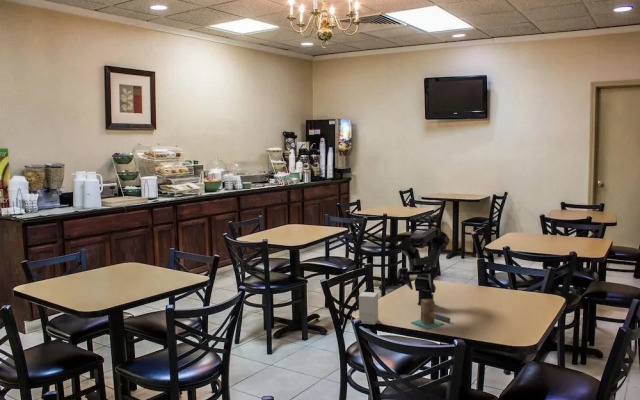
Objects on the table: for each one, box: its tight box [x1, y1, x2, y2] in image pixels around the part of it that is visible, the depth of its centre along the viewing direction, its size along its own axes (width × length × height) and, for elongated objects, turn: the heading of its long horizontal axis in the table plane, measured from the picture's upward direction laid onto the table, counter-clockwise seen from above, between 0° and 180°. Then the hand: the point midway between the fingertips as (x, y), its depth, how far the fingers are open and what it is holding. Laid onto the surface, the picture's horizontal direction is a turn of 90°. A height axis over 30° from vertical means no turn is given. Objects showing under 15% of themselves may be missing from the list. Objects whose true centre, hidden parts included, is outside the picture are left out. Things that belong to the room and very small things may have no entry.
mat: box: [410, 318, 445, 330], centre depth 237 cm, size 10×10×1 cm
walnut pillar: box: [420, 299, 435, 325], centre depth 236 cm, size 5×5×10 cm
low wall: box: [434, 312, 451, 324], centre depth 242 cm, size 10×1×2 cm, turn 36°
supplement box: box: [358, 291, 379, 325], centre depth 240 cm, size 7×7×13 cm
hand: (422, 289), depth 243 cm, fingers open, 9 cm apart
